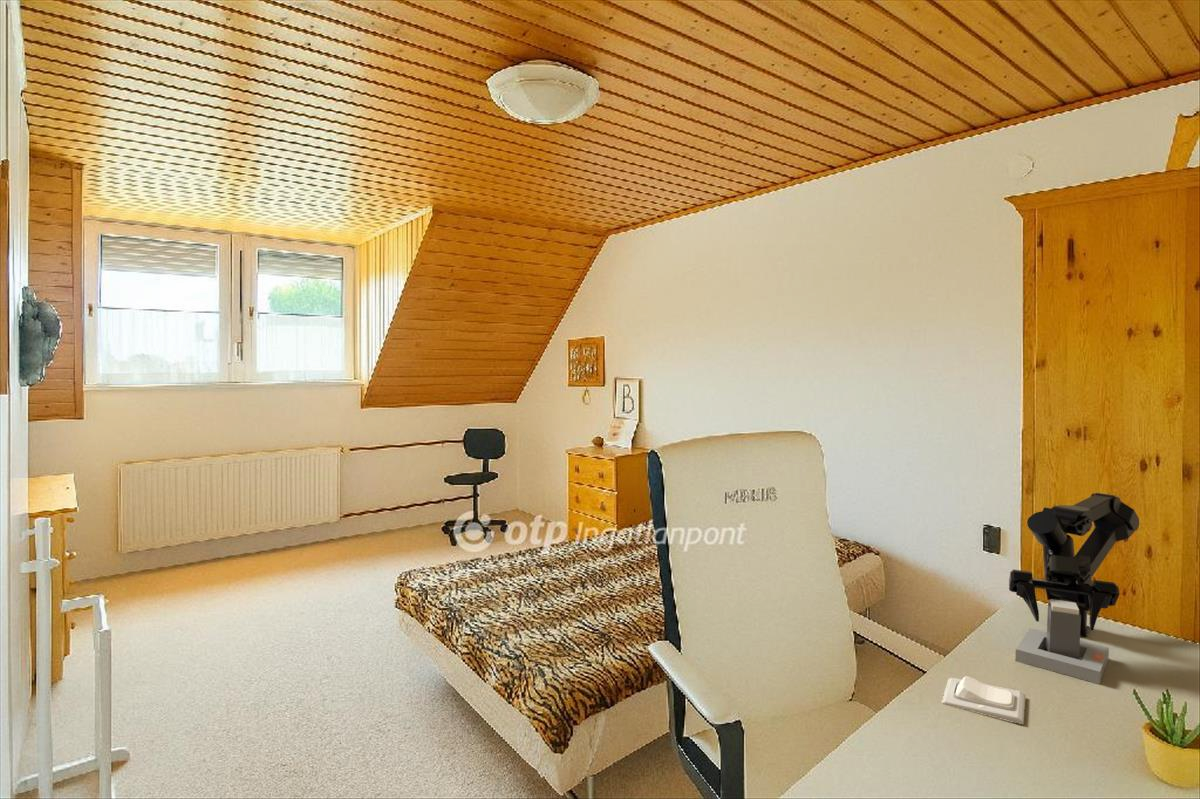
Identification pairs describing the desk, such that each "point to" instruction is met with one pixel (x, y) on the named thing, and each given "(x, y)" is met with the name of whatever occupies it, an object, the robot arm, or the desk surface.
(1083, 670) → the socket plate
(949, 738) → the desk surface
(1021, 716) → the light switch
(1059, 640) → the plug
